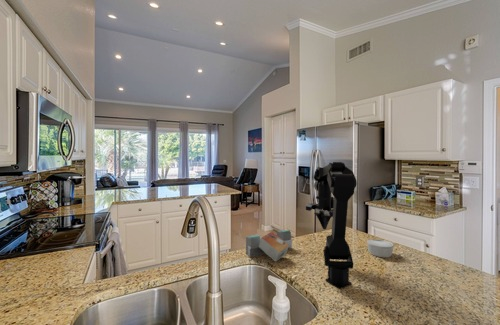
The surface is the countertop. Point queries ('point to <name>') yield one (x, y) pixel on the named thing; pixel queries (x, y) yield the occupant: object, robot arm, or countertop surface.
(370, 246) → the ramekin
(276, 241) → the small box
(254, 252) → the rail
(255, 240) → the block
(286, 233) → the block
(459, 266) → the countertop surface
